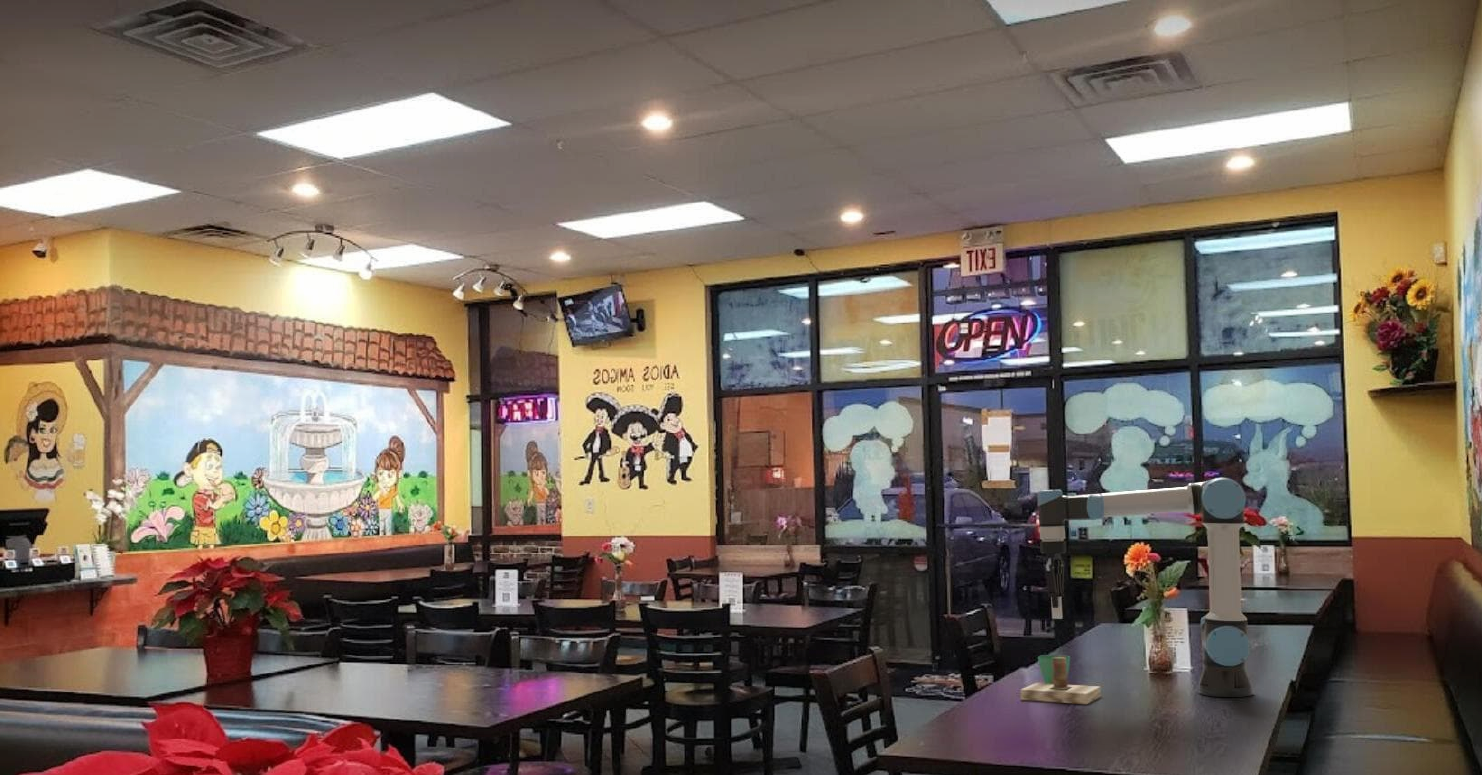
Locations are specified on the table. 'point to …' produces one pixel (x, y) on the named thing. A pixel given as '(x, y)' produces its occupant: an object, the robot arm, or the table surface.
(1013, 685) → the table surface
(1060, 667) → the peg
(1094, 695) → the board
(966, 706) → the table surface
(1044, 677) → the mug
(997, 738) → the table surface
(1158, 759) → the table surface
